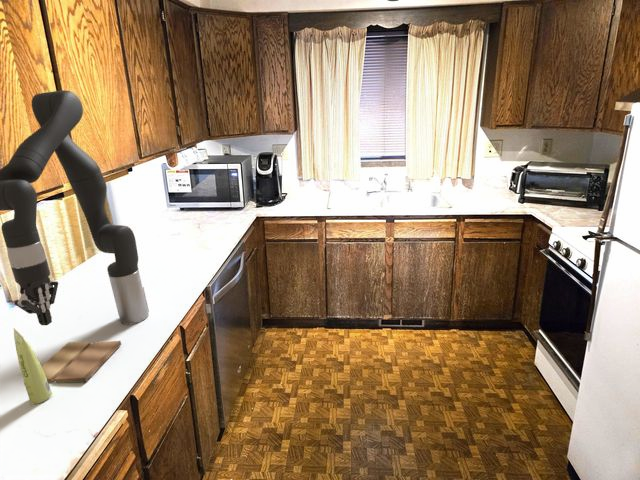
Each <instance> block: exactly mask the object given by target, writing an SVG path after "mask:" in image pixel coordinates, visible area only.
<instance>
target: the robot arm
mask: <svg viewBox="0 0 640 480" xmlns="http://www.w3.org/2000/svg"><path fill="white" fill-rule="evenodd" d="M31 108H32V112H33V115H34V118H35V120H36V122H37V123H38V125H39V128H38V129H37V130H36V131H34V132H33V133H32V134H30V135H29V136H28V137H26V138H25V139H24V140H23V141H22V142H21V143H20V144H19V145H18V147H17V148H16V150H15V151H14V152H13V155H12V156H11V158H10V159H9V161H8V163H7V164H5V165H4V166H3V167H1V169H0V212H1V211H13V213H14V214H13V218H12V219H10V220H6V221H5V222H3V223H2V224H1V233H2V236H3V241H4V242H5V246H6V251H7V252H6V253H7V257H8V261H9V265H10V268H11V272H12V275H13V278H14V281H15V283H16V284H18V285H19V293H20V297H19V299H17V300H15V301H14V305H15V306H17V308H19V309H20V310H22V311H24V312H26V313H27V314H31V315H32V314H35V315H36V316H37V317H36V318H37V319H38V323H39V325H40V326H48V325H50V324H51V323H53V320H52V319H53V317H52V315H51V310H50V309H51V305H54V304H55V300H56V296H57V292H58V286H59V281H56V280H55V281H53V280H51V279H50V278H51V277H50V275H51V270H50V267H49V263H48V260H47V256H46V255H47V254H46V252H45V249H44V246H43V243H42V241H41V238H40V235H39V230H38V227H37V214H38V213H37V207H38V196H37V195H38V194H37V191H36V189H35V188H34V186H33V185H32V183H35V182H37V181H38V180H39V179H40V177H41V176H42V174H43V171H44V170H45V169H46V166H47V165H48V163H49V160H50V159H51V157H53V155H54V153H55V155H56V157H57V159H58V161H59V163H60V165H61V167H62V169H63V171H64V173H65V175H66V178H67V181H68V182H69V185H70V187H71V188H72V191H73V193H74V195H75V197H76V199H77V201H78V203H79V206H80V208H81V211H82V213H83V215H84V217H85V220H86V223H87V226H88V229H89V231H90V234H91V235H90V236H91V237H92V240H93V242H94V245H95V247H96V249H98V251H100V252H102V253H104V254H112V255H113V254H114V260H115V261H113V262H112V263H110V264H109V265H108V266H107V270H106V271H107V274H108V278H109V282H110V287H111V290H112V294H113V298H114V302H115V305H116V306H115V307H116V309H117V314H118V318H119V322H120V323H121V324H123V325H133V324H137V323H140V322H142V321H144V320H145V319H147V318H148V317H149V312H150V310H149V306H148V305H149V304H148V300H147V296H146V292H145V287H144V286H143V283H142V279H141V278H142V277H141V275H140V270H139V266H138V264H139V253H138V249H137V248H138V247H137V241H136V237H135V233H134V232H133V230H132V229H131V228H130V227H129V226H127V225H122V224H121V225H118V224H112V223H111V221H110V219H109V216H108V215H107V212H106V198H107V192H108V191H107V190H108V187H107V182H106V179H105V177H104V175H103V173H102V170H101V168H100V166H99V164H98V162H96V160H94V159H93V158H92V156H90V154H88V153H87V152H86V151H84V150H83V149H82V148H81V147H80V146H78V145H77V144H76V142H74V140H73V139H72V137H71V136H70V135H69V134H70V133H71V132H72V131H73V130H74V128H76V126H77V125H78V124H79V123H80V121H81V120H82V118H83V114H84V107H83V105H82V101H81V100H80V98H79V96H78V95H77V94H76V93H75V92H73V91H70V90H61V89H60V90H54V91H48V92H47V91H46V92H42V93H41V92H40V93H36V94H35V95H33V97H32V99H31Z"/></svg>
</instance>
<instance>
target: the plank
mask: <svg viewBox="0 0 640 480" xmlns="http://www.w3.org/2000/svg"><path fill="white" fill-rule="evenodd" d="M121 342H122V341H121V340H112V341H110V340H109V341H93V342H92V343H90V344H91V345H90V346H89V347H88V348H87V349H86V350H85V351H84V352H83V353H81V354H80V355H79V356H78V357H77V358H76V359H75V360H74V361H73V362H72V363H71V364H70V365H69V366H68V367H67V368H66V369H65V370H63V371H62V372H61V373H60V374H59V375H58V376H57V377H56V378H55V382H54V383H57V384H58V383H59V384H60V383H80V382H81V383H85V382H87V381H88V380H89V379H90V378H91V377H92V376H93V375H94V374H95V373H96V372H97V370H99V369H100V368H101V366H103V365H104V363H105V362H107V360H108V359H109V358H110V357H111V356H112V355H113V354H114V352H116V351H117V350H118V348H119V347H120V346H122V343H121Z"/></svg>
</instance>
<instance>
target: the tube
mask: <svg viewBox="0 0 640 480" xmlns="http://www.w3.org/2000/svg"><path fill="white" fill-rule="evenodd" d="M13 336H14V337H13V339H14V345H15V350H16V355H17V359H18V360H17V361H18V364H19V368H20V372H21V376H22V380H23V383H24V386H25V390H26V392H27V396H28V400H29V402H30V403H31V404H40V403H43V402H46V401H47V400H49V398H51V396H52V394H53V392H52V389H51V387H50V385H49V384H50V383H48V381H47V379H46V376H45V374H44V371H43V369H42V367H41V366H42V365H41V363H40V360H39V359H38V357H37V354H36V353H35V352H34V349H33V347H32V346H31V345H30V343H29V342H28V341H27V340H26V339H25V338H24V336H23V335H21V333H19V331H17V329H16V328H14V327H13Z"/></svg>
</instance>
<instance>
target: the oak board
mask: <svg viewBox="0 0 640 480" xmlns="http://www.w3.org/2000/svg"><path fill="white" fill-rule="evenodd" d="M91 344H92V343H91V342H90V341H87V342H86V341H83V342H80V341H78V342H77V341H75V342H74V341H71V342H70V341H69V342H67V343H66V344H65V345H64V346H62V347H61V348H60V349H59V350H57V352H56V353H55V354H53V355H52V357H50V358H49V359H48V360H47V361H45V362H44V363H43V364H42V365H41V367H42V369H43V371H44V374H45V376H46V379H47V381H48V384H52V383H56V382H55V378H56V377H57V376H58V375H59V374H60V373H61V372H62V371H63V370H65V369H66V368H67V367H68V366H69V365H70V364H71V363H72V362H73V361H74V360H75V359H76V358H77V357H78V356H79V355H80V354H81V353H83V352H84V351H85V350H86V349H87V348H88V347H89V346H90V345H91Z"/></svg>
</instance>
